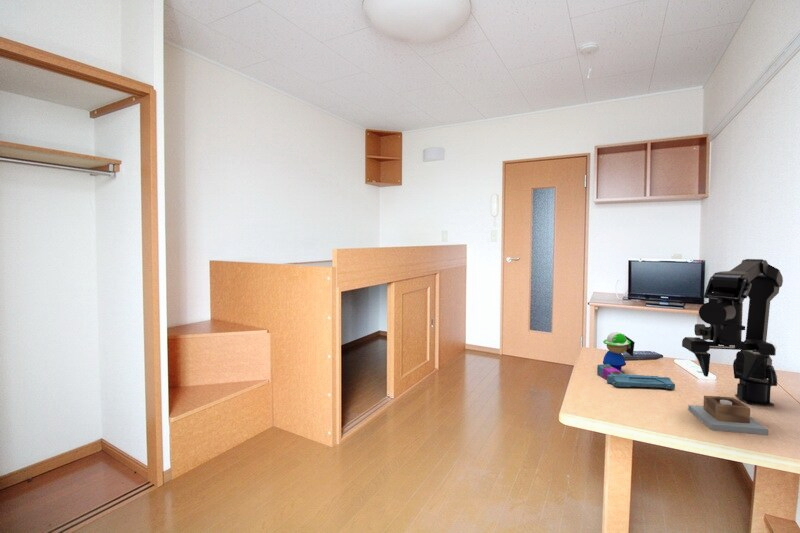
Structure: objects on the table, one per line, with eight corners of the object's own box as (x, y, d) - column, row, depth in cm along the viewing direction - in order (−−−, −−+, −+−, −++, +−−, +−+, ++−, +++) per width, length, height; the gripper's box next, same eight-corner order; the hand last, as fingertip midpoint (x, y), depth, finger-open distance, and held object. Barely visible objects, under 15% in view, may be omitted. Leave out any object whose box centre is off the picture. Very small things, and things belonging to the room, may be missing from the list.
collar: (732, 411, 104) (733, 397, 104) (749, 423, 97) (750, 408, 97) (703, 409, 106) (703, 395, 105) (718, 420, 99) (718, 405, 99)
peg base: (737, 413, 106) (738, 394, 106) (767, 434, 94) (768, 413, 94) (688, 409, 109) (688, 391, 108) (711, 429, 97) (712, 409, 97)
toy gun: (653, 376, 137) (677, 393, 122) (595, 374, 140) (611, 391, 125) (654, 365, 137) (677, 381, 122) (596, 363, 140) (612, 378, 125)
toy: (635, 375, 137) (636, 335, 136) (610, 376, 137) (610, 335, 136) (621, 367, 146) (622, 329, 145) (597, 368, 146) (598, 329, 145)
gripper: (749, 315, 106) (747, 369, 107) (673, 313, 111) (672, 365, 112) (778, 323, 95) (775, 384, 96) (693, 321, 100) (691, 379, 101)
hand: (725, 377), depth 101 cm, fingers open, 9 cm apart
